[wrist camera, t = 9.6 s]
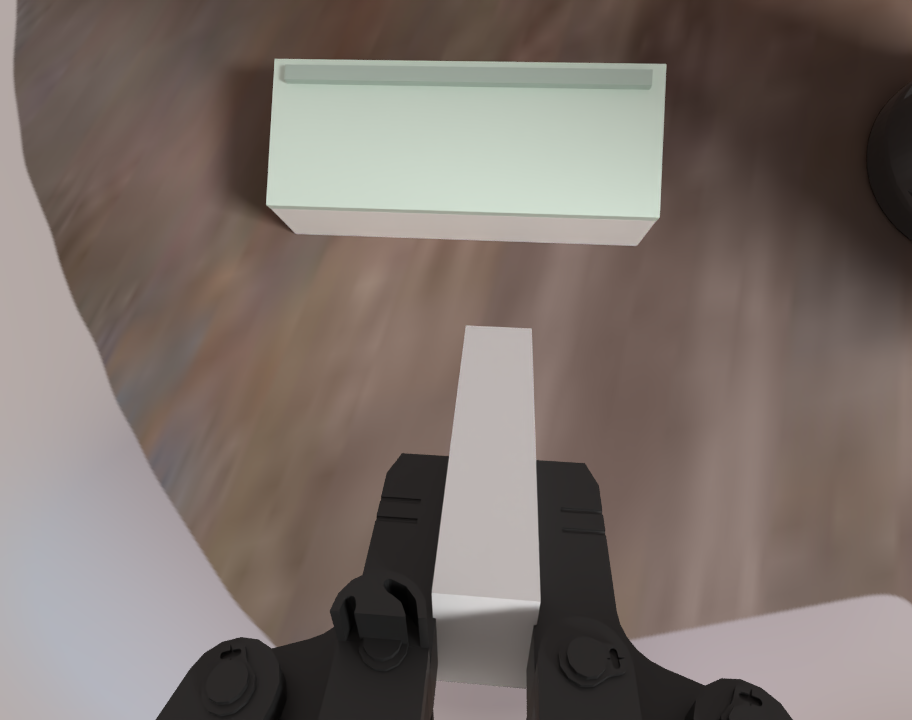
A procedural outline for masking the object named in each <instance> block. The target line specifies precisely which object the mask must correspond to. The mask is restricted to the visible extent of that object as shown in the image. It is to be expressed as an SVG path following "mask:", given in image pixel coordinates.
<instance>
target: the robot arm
mask: <svg viewBox="0 0 912 720" xmlns="http://www.w3.org/2000/svg"><path fill="white" fill-rule="evenodd" d="M867 169H868V176H869V180H870V184H871V187H872V190H873V192H874V195H875V197H876V199H877V201H878V203H879V205H880V207H881V208H882V210H883V211H884V213H885V214H886V216H887V217H888V218H889V219H890V221H891V222H892V223H893V224H894V225H895V226H896V227H897V228H898V229H899V230H900V231H901V232H902V233H903V234H904V235H905V236H907V237H908V238H909V239H910V240H912V81H910V82H909V83H908V84H907V85H906V86H905V87H903V88H902V89H901V90H900V91H899V92H897V93H896V94H895V95H894V96H893V97H892V98H891V99H890V100H889V101H888V102H887V104H886V105H885V106H884V107H883V109H882V110H881V112H880V113H879V115H878V117H877V119H876V121H875V123H874V125H873V128H872V130H871V133H870V137H869V141H868V147H867ZM330 613H331V617H332V621H333V624H334V627H333V628H332V629H330V630H329V631H327V632H326V633H324V634H322V635H319V636H316V637H314V638H311V639H308V640H304V641H300V642H296V643H292V644H288V645H284V646H280V647H276V648H272V649H271V648H270V647H269V646H267V645H266V644H264V643H263V642H261V641H260V640H258V639H251V638H243V637H240V638H236V639H232V640H229V641H224V642H222V643H220V644H218V645H217V646H215V647H214V648H212V649H211V650H209V651H207V652H206V653H204V654H203V655H202V656H201V658H200V659H199V660H198V661H197V662H196V663H195V664H194V665H193V666H192V668H191V669H190V670H189V671H188V673H187V674H186V676H185V677H184V679H183V680H182V682H181V683H180V685H179V686H178V688H177V689H176V691H175V692H174V693H173V695H172V697H171V698H170V700H169V701H168V702H167V704H166V705H165V707H164V708H163V710H162V711H161V713H160V714H159V716H158V717H157V719H156V720H434V717H433V706H434V696H435V687H436V681H446V682H457V683H468V684H480V685H492V686H503V687H513V688H524V689H526V686H527V719H526V720H793V719H792V718H791V717H790V715H789V714H788V713H787V711H786V710H785V709H784V707H783V706H782V705H781V703H779V702H778V701H777V700H776V699H774V698H773V697H772V696H771V695H769V694H768V693H767V692H766V691H764V690H763V689H762V688H760V687H758V686H755V685H753V684H750V683H748V682H746V681H743V680H741V679H719V680H717V681H714V682H712V683H710V684H708V685H706V686H705V685H702V684H700V683H698V682H695V681H693V680H690V679H688V678H686V677H684V676H681V675H679V674H676V673H674V672H672V671H669V670H667V669H665V668H663V667H661V666H659V665H657V664H656V663H654V662H652V661H650V660H649V659H647V658H646V657H645V656H644V655H643V654H642V653H640V652H639V651H638V650H637V649H636V648H635V647H634V645H632V643H631V642H630V640H629V639H628V638H627V636H626V635H625V633H624V631H623V629H622V627H621V625H620V622H619V618H618V615H617V611H616V604H615V596H614V589H613V582H612V575H611V568H610V561H609V554H608V547H607V540H606V536H605V526H604V519H603V515H602V505H601V498H600V491H599V485H598V483H597V482H596V480H595V479H594V477H593V476H592V474H591V472H590V471H589V469H588V468H587V466H586V465H585V463H571V462H555V461H539V460H536V445H535V415H534V385H533V354H532V329H529V328H508V327H486V326H466V329H465V337H464V345H463V353H462V360H461V368H460V376H459V384H458V392H457V399H456V407H455V415H454V423H453V430H452V438H451V446H450V454H449V456H436V455H420V454H404V453H402V454H401V455H400V457H399V458H398V459H397V461H396V462H395V463H394V464H393V466H392V467H391V468H390V470H389V471H388V472H387V474H386V479H385V483H384V487H383V491H382V495H381V501H380V504H379V508H378V512H377V519H376V521H375V525H374V529H373V533H372V538H371V542H370V546H369V550H368V555H367V559H366V563H365V567H364V571H363V575H362V576H360V577H358V578H355V579H353V580H352V581H351V582H349V583H348V584H347V585H346V586H345V587H344V588H343V589H342V590H341V591H340V592H339V593H338V595H337V597H336V599H335V601H334V603H333V605H332V607H331V610H330Z"/></svg>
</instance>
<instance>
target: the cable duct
mask: <svg viewBox="0 0 912 720" xmlns="http://www.w3.org/2000/svg"><path fill="white" fill-rule="evenodd" d="M272 210H273V211H274V212H275V213H276V214H277V215H278V216H279V217H280V218H281V219H282V220H283V221H284V222H285V223H286V224H287V225H288V226H289V228H290V229H291V230H292V231H293V232H294V233H295V234H312V235H341V236H370V237H398V238H427V239H455V240H484V241H512V242H541V243H569V244H598V245H626V246H637V245H638V244H639V242H640V241H641V240H642V238H643V237H644V236H645V235H646V233H647V232H648V231H649V229H650V228H651V227H652V226H653V224H654V223H655V222H656V221H642V220H611V219H580V218H548V217H517V216H486V215H455V214H423V213H392V212H361V211H329V210H298V209H272Z"/></svg>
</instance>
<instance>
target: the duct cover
mask: <svg viewBox="0 0 912 720" xmlns="http://www.w3.org/2000/svg"><path fill="white" fill-rule="evenodd" d="M665 85H666V64H632V63H555V62H479V61H402V60H326V59H275V62H274V79H273V96H272V113H271V130H270V147H269V164H268V181H267V198H266V205H267V206H268V207H269V208H271V209H298V210H329V211H361V212H392V213H423V214H455V215H486V216H517V217H548V218H580V219H611V220H642V221H657V220H658V219H659V218H660V199H661V176H662V153H663V131H664V108H665Z"/></svg>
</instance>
